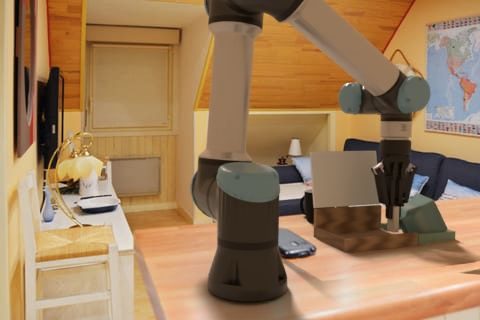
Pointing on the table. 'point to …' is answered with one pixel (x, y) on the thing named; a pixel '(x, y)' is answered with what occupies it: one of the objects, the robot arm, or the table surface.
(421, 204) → the flower pot
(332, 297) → the table surface
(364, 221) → the brown wooden box
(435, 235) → the potting tray
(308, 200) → the mug
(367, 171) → the lid
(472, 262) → the table surface
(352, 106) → the robot arm
